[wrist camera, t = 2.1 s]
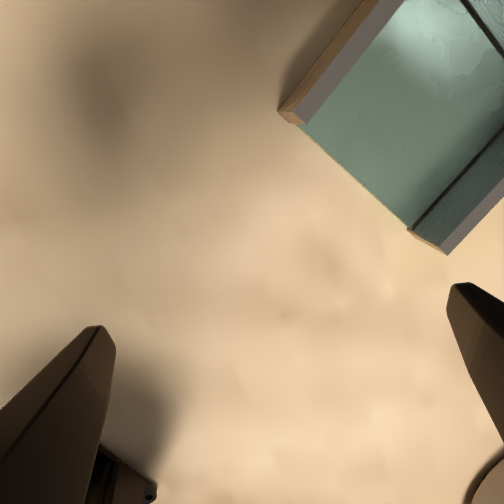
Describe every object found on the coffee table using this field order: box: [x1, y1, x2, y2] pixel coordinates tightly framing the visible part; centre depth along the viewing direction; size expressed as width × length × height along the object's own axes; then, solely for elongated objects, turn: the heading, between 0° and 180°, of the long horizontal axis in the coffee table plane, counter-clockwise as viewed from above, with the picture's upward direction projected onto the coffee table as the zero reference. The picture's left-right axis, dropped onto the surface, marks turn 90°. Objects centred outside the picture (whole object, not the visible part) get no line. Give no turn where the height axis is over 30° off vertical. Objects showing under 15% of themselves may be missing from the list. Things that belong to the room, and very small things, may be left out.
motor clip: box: [277, 0, 504, 256], centre depth 15 cm, size 14×12×8 cm
